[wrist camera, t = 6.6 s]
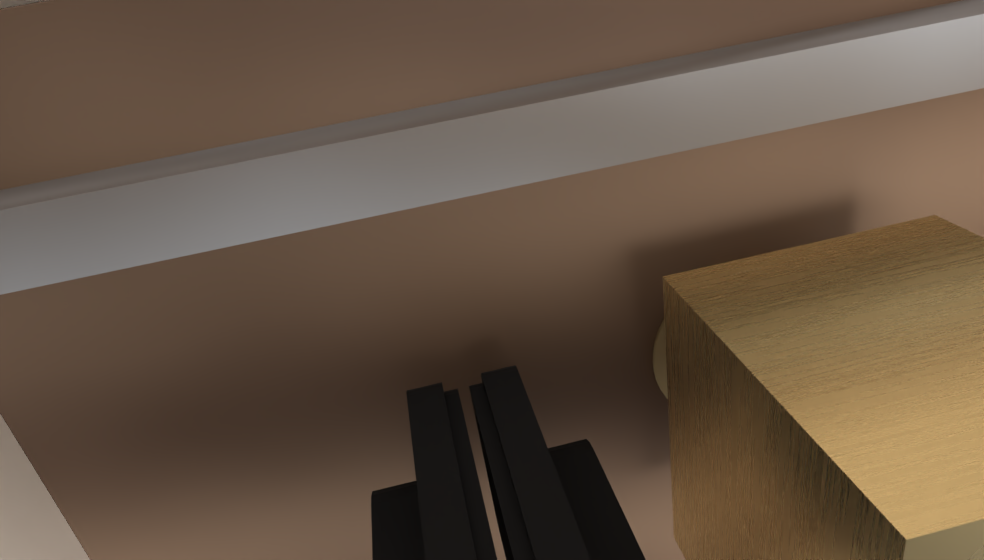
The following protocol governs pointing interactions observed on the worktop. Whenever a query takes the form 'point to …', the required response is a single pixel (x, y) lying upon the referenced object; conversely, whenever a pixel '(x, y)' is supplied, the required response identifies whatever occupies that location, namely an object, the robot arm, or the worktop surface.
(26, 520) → the worktop surface
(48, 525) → the worktop surface
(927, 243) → the sliding block
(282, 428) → the wooden slider board
